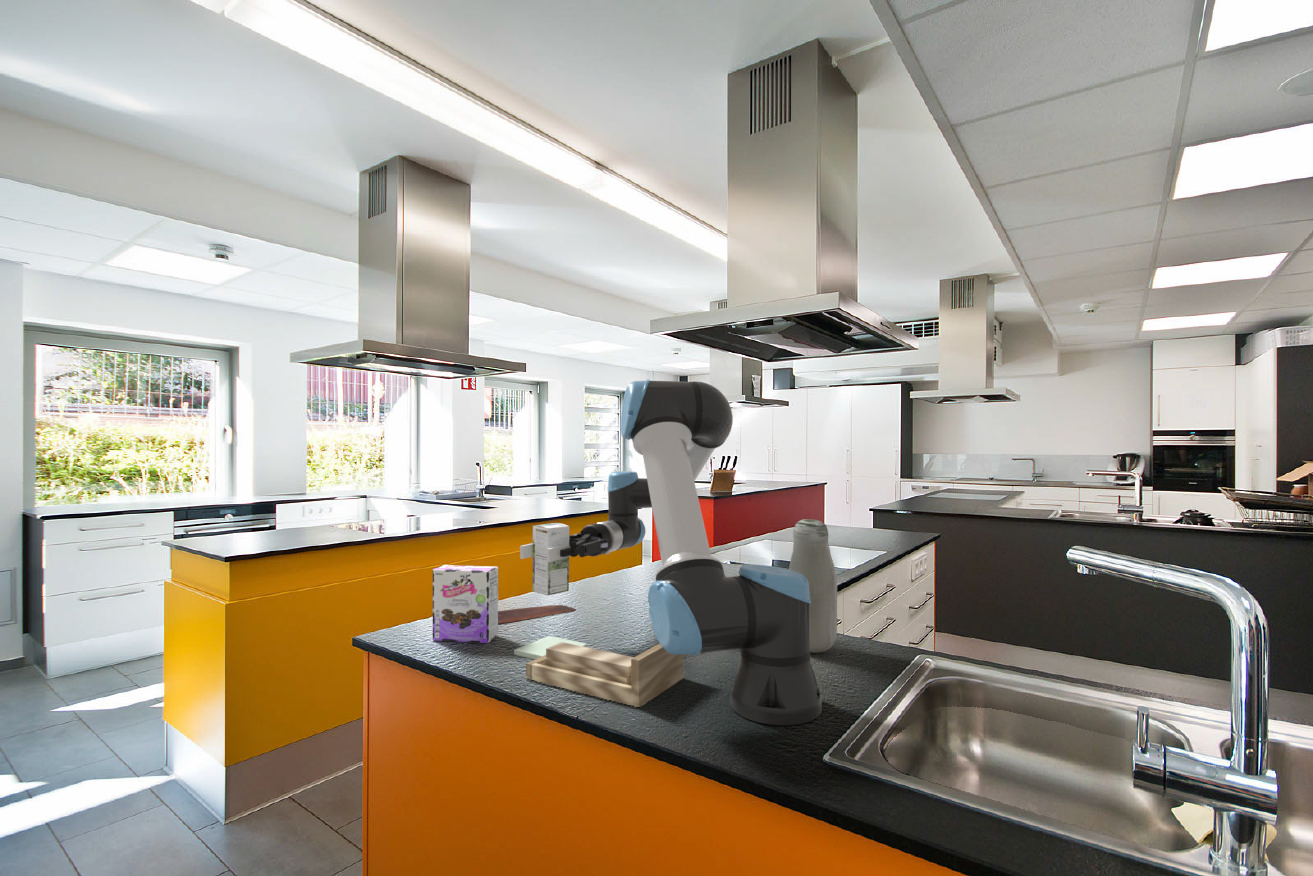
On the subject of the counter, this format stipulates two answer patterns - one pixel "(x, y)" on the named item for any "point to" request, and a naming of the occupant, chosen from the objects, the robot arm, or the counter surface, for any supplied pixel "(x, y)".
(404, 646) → the counter surface
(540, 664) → the birch rack
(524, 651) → the sage mat
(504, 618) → the wooden tablet
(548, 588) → the syrup box
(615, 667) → the offcut stack
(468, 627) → the candy box
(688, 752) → the counter surface
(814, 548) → the glass bottle
